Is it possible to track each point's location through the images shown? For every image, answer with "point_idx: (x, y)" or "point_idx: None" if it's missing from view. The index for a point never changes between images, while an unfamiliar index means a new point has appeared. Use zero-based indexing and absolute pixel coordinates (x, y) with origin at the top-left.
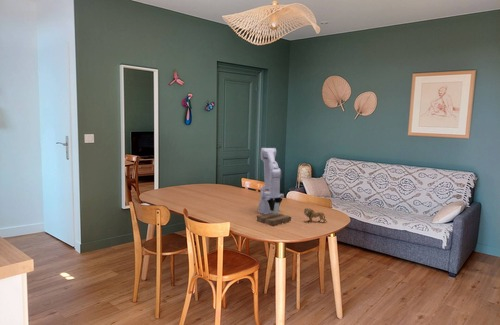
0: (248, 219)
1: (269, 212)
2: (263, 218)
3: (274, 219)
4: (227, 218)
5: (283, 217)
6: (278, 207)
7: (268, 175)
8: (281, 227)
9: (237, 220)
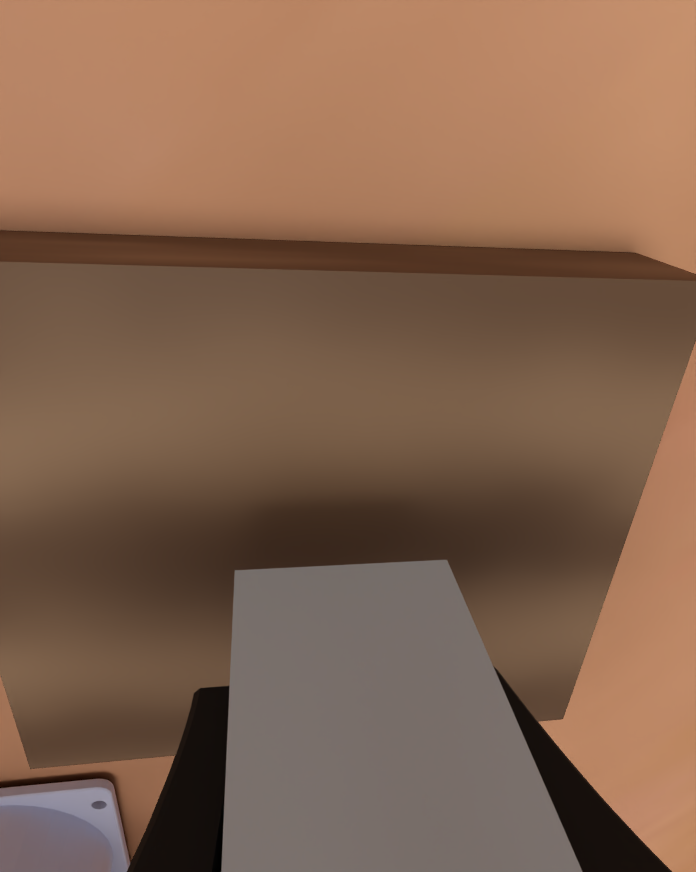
0: None
1: (34, 827)
2: (606, 583)
3: (545, 384)
4: (657, 847)
5: (185, 361)
6: (277, 730)
7: None
8: (614, 26)
9: (667, 764)
